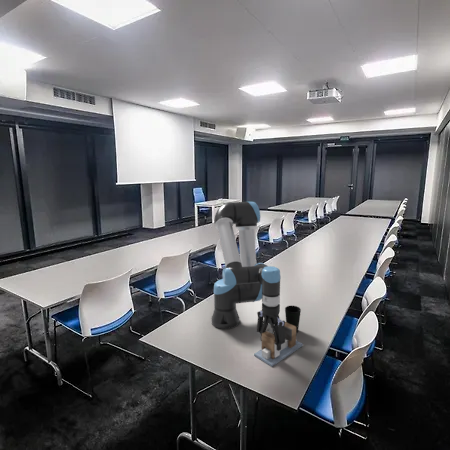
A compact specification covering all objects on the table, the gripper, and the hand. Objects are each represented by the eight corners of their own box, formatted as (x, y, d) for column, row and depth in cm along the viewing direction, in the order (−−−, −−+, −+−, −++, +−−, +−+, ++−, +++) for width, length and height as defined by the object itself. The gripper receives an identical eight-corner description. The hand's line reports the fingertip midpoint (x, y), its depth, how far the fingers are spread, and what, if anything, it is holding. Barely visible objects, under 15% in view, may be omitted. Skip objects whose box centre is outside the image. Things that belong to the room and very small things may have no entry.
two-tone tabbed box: (261, 352, 130) (261, 333, 128) (267, 348, 132) (267, 330, 131) (273, 359, 125) (273, 340, 123) (279, 355, 127) (279, 336, 126)
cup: (282, 332, 148) (282, 310, 145) (288, 325, 154) (288, 304, 152) (297, 336, 143) (297, 313, 141) (302, 329, 150) (302, 307, 147)
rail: (254, 355, 129) (254, 347, 129) (285, 336, 143) (285, 329, 143) (271, 366, 122) (271, 358, 121) (302, 345, 136) (302, 337, 135)
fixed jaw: (295, 344, 135) (296, 326, 133) (290, 348, 132) (290, 330, 131) (284, 338, 140) (284, 321, 138) (279, 342, 137) (279, 324, 136)
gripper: (248, 298, 129) (248, 345, 133) (283, 314, 114) (282, 366, 119) (259, 293, 134) (259, 339, 138) (295, 308, 119) (294, 358, 123)
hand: (270, 352), depth 128 cm, fingers closed on two-tone tabbed box, 7 cm apart
